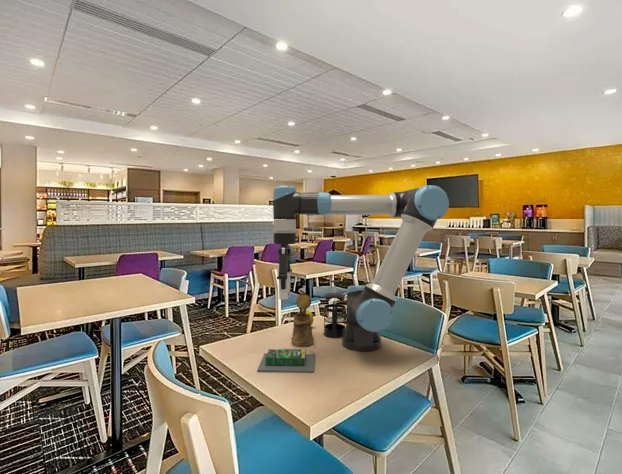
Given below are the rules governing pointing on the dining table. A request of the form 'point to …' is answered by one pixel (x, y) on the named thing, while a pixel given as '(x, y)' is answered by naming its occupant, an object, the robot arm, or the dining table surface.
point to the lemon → (310, 316)
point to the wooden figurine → (302, 323)
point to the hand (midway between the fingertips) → (285, 294)
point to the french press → (334, 315)
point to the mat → (288, 366)
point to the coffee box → (286, 357)
